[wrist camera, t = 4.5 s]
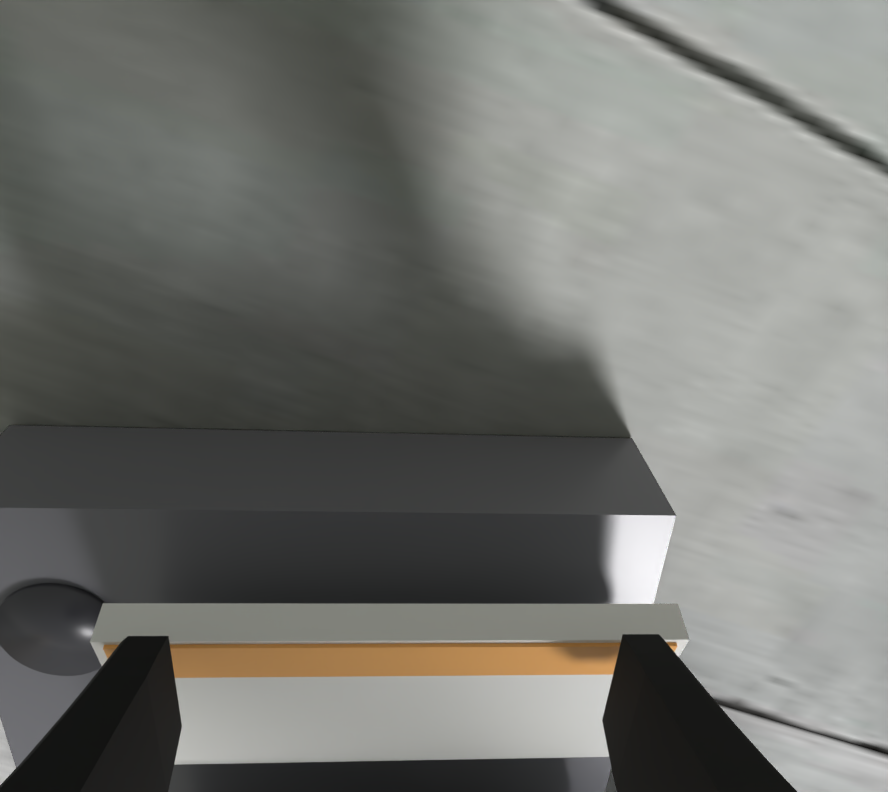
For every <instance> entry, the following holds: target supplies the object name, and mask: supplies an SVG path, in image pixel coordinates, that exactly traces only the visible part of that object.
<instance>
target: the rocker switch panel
mask: <svg viewBox="0 0 888 792" xmlns="http://www.w3.org/2000/svg"><path fill="white" fill-rule="evenodd" d="M675 518H676V515H675V513H674V511H673V509H672V507H671V506H670V504H669V502H668V500H667V499H666V497H665V495H664V493H663V492H662V490H661V488H660V486H659V485H658V483H657V481H656V479H655V478H654V476H653V474H652V472H651V471H650V469H649V467H648V465H647V464H646V462H645V460H644V458H643V457H642V455H641V453H640V451H639V450H638V448H637V446H636V444H635V443H634V441H633V439H632V438H594V437H547V436H500V435H452V434H405V433H358V432H310V431H263V430H216V429H168V428H121V427H74V426H27V425H9V426H8V427H7V429H6V430H5V431H4V432H3V433H2V434H1V435H0V718H1V721H2V724H3V727H4V730H5V734H6V737H7V740H8V743H9V746H10V750H11V753H12V756H13V759H14V762H15V765H16V768H17V767H18V766H19V765H20V764H21V762H22V761H23V760H24V759H25V758H26V757H27V756H28V754H29V753H30V752H31V751H32V750H33V749H34V748H35V746H36V745H37V744H38V743H39V742H40V741H41V739H42V738H43V737H44V736H45V735H46V734H47V732H48V731H49V730H50V729H51V728H52V727H53V726H54V724H55V723H56V722H57V721H58V720H59V719H60V717H61V716H62V715H63V714H64V713H65V711H66V710H67V709H68V708H69V707H70V705H71V704H72V703H73V702H74V700H75V699H76V698H77V697H78V696H79V694H80V693H81V692H82V691H83V690H84V688H85V687H86V686H87V685H88V683H89V682H90V681H91V680H92V678H93V677H94V676H95V675H96V673H97V672H98V671H99V669H100V668H101V667H102V666H101V664H100V662H99V659H98V657H97V655H96V653H95V651H94V649H93V647H92V645H91V643H90V640H91V637H92V634H93V631H94V628H95V625H96V622H97V619H98V616H99V613H100V610H101V607H102V604H103V603H298V604H654V600H655V596H656V592H657V588H658V584H659V580H660V576H661V572H662V569H663V565H664V561H665V557H666V553H667V549H668V545H669V541H670V537H671V534H672V530H673V526H674V522H675ZM610 771H611V762H610V758H609V757H571V758H514V759H458V760H402V761H346V762H290V763H233V764H177V765H174V767H173V772H172V776H171V781H170V785H169V790H168V792H605V790H606V786H607V783H608V779H609V775H610Z"/></svg>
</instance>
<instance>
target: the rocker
mask: <svg viewBox="0 0 888 792" xmlns="http://www.w3.org/2000/svg"><path fill="white" fill-rule="evenodd" d="M623 634H659V635H660V636H661V637H662V638H663V639H664V640H665V641H666V643H667V644H668V645H669V646H670V647H671V649H672V650H673V651H674V652H675V653H676V655H677V656H678V657H679V656H680V654H681V653H682V651H683V649H684V648H685V646H686V644H687V643H688V641H689V637H688V634H687V631H686V628H685V625H684V621H683V618H682V615H681V612H680V609H679V606H678V604H298V603H103V604H102V607H101V610H100V613H99V616H98V619H97V622H96V625H95V628H94V631H93V634H92V637H91V640H90V643H91V645H92V647H93V649H94V651H95V653H96V655H97V657H98V659H99V662H100V664H101V666H103V664H104V663H105V662H106V661H107V659H108V658H109V657H110V655H111V654H112V653H113V652H114V650H115V649H116V648H117V646H118V645H119V644H120V643H121V641H123V640H124V639H125V638H126V637H127V636H169V643H170V650H171V656H172V663H173V670H174V676H175V683H176V690H177V696H178V703H179V710H180V716H181V723H182V729H181V733H180V738H179V743H178V748H177V753H176V758H175V763H174V765H177V764H233V763H290V762H346V761H402V760H458V759H514V758H571V757H609V753H608V748H607V743H606V737H605V732H604V727H603V722H602V719H603V715H604V711H605V706H606V702H607V698H608V694H609V690H610V685H611V681H612V677H613V673H614V669H615V664H616V660H617V656H618V652H619V648H620V643H621V639H622V635H623Z"/></svg>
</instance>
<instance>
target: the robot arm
mask: <svg viewBox="0 0 888 792" xmlns="http://www.w3.org/2000/svg"><path fill="white" fill-rule="evenodd" d="M602 722H603V727H604V732H605V737H606V743H607V748H608V753H609V758H610V762H611V767H612V772H613V776H614V781H615V785H616V788H617V792H797V791H796V790H795V789H794V788H793V787H792V786H791V785H790V784H789V783H788V782H787V781H786V780H785V779H784V777H783V776H782V775H781V774H780V773H779V772H778V771H777V770H776V769H775V768H774V767H773V766H772V765H771V764H770V762H769V761H768V760H767V759H766V758H765V757H764V756H763V755H762V754H761V753H760V752H759V750H758V749H757V748H756V747H755V746H754V745H753V744H752V743H751V741H750V740H749V739H748V738H747V737H746V736H745V735H744V734H743V733H742V731H741V730H740V729H739V728H738V727H737V726H736V725H735V724H734V722H733V721H732V720H731V719H730V718H729V717H728V716H727V714H726V713H725V712H724V711H723V710H722V709H721V707H720V706H719V705H718V704H717V703H716V701H715V700H714V699H713V698H712V697H711V696H710V694H709V693H708V692H707V691H706V690H705V688H704V687H703V686H702V685H701V684H700V682H699V681H698V680H697V679H696V678H695V676H694V675H693V674H692V673H691V672H690V670H689V669H688V668H687V667H686V666H685V664H684V663H683V662H682V661H681V660H680V658H679V657H678V656H677V655H676V653H675V652H674V651H673V650H672V649H671V647H670V646H669V645H668V644H667V643H666V641H665V640H664V639H663V638H662V637H661V636H660V635H659V634H623V635H622V639H621V643H620V648H619V652H618V656H617V660H616V664H615V669H614V673H613V677H612V681H611V685H610V690H609V694H608V698H607V702H606V706H605V711H604V715H603V719H602ZM181 729H182V723H181V716H180V710H179V703H178V696H177V690H176V683H175V676H174V670H173V663H172V656H171V650H170V643H169V636H127V637H126V638H125V639H124V640H123V641H121V643H120V644H119V645H118V646H117V648H116V649H115V650H114V652H113V653H112V654H111V655H110V657H109V658H108V659H107V661H106V662H105V663H104V664H103V666H102V667H101V668H100V669H99V671H98V672H97V673H96V675H95V676H94V677H93V678H92V680H91V681H90V682H89V683H88V685H87V686H86V687H85V688H84V690H83V691H82V692H81V693H80V694H79V696H78V697H77V698H76V699H75V700H74V702H73V703H72V704H71V705H70V707H69V708H68V709H67V710H66V711H65V713H64V714H63V715H62V716H61V717H60V719H59V720H58V721H57V722H56V723H55V724H54V726H53V727H52V728H51V729H50V730H49V731H48V732H47V734H46V735H45V736H44V737H43V738H42V739H41V741H40V742H39V743H38V744H37V745H36V746H35V748H34V749H33V750H32V751H31V752H30V753H29V754H28V756H27V757H26V758H25V759H24V760H23V761H22V762H21V764H20V765H19V766H18V767H17V768H16V769H15V770H14V771H13V772H12V773H11V775H10V776H9V777H8V778H7V779H6V780H5V781H4V782H3V783H2V784H1V785H0V792H168V790H169V785H170V781H171V776H172V772H173V767H174V763H175V758H176V753H177V748H178V743H179V738H180V733H181Z"/></svg>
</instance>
